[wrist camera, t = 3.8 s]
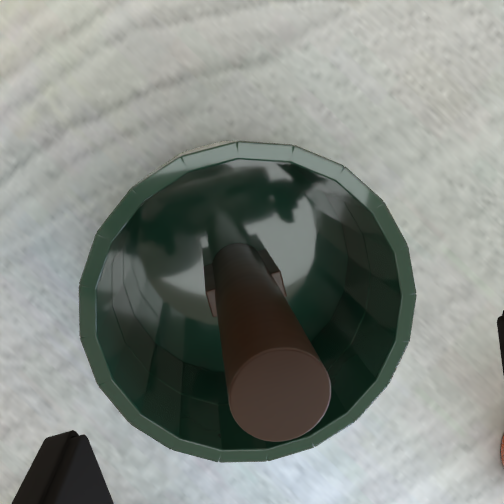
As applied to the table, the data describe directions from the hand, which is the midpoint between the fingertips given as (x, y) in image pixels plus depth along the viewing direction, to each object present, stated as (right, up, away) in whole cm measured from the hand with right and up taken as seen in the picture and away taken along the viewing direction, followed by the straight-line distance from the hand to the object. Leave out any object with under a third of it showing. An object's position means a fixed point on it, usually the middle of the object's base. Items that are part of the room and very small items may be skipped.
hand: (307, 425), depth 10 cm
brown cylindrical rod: (-2, +3, +13) cm, 14 cm away
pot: (-2, +3, +14) cm, 14 cm away
